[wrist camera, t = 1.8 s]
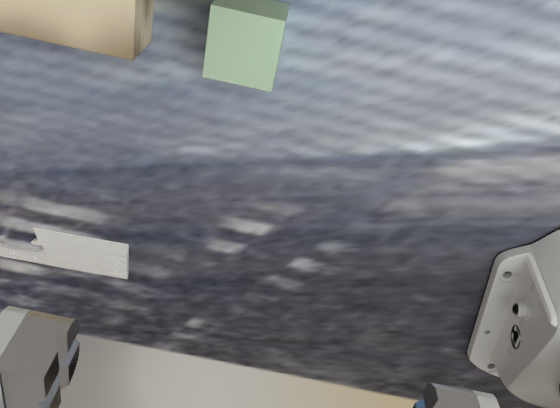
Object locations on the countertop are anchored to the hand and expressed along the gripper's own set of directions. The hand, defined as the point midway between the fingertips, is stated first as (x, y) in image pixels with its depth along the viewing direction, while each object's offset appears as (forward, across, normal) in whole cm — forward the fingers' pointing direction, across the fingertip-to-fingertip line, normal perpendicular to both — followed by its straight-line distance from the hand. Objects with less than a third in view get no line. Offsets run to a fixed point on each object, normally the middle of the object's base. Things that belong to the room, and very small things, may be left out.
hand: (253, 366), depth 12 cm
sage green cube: (+32, +3, +2) cm, 32 cm away
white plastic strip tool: (+33, +19, +28) cm, 47 cm away
